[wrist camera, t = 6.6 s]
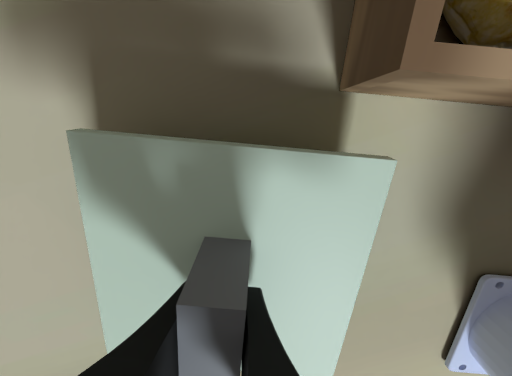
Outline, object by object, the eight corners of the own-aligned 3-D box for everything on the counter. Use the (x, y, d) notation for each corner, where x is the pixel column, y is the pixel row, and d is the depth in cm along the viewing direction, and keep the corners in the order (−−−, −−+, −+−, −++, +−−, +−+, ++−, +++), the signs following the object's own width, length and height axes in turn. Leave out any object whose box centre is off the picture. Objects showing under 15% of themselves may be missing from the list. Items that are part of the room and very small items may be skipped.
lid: (387, 156, 10) (483, 197, 6) (328, 364, 15) (357, 476, 11) (80, 128, 10) (-60, 148, 6) (116, 347, 15) (53, 452, 10)
